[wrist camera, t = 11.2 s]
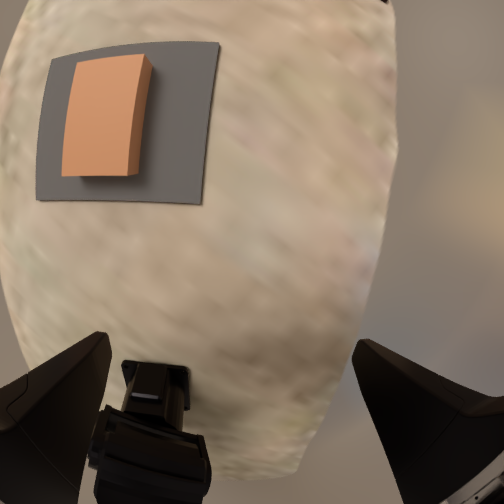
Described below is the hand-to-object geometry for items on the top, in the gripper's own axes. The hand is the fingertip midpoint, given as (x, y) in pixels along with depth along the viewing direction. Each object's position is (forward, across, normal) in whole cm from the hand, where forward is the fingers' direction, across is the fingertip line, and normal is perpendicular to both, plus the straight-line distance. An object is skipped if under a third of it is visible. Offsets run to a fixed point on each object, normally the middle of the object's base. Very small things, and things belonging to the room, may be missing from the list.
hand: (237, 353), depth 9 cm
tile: (+12, +9, -9) cm, 17 cm away
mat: (+12, +9, -9) cm, 17 cm away
